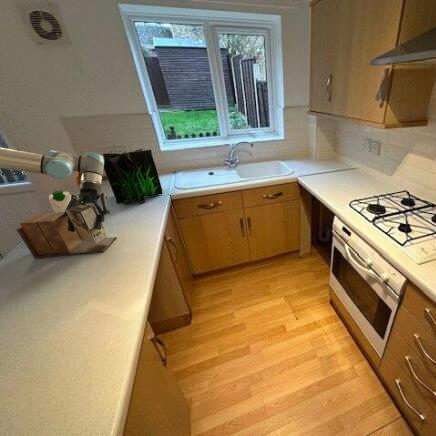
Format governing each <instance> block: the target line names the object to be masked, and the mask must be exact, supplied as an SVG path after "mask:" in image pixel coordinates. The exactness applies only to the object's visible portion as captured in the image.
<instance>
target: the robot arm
mask: <svg viewBox="0 0 436 436" xmlns="http://www.w3.org/2000/svg"><path fill="white" fill-rule="evenodd" d="M103 157H104V156H103V155H101V154H99V153H97V152H86V153H85V154H84V155H78V154H74V153H69V152H63V151H60V150H51V149H50V150H48V151H47V154H46V155H45V154H39V153H34V152H29V151H22V150H16V149H12V148H5V147H0V169H5V170H11V171H12V170H13V171H19V172H28V173H34V174H42V175H48V176H49V177H51V178H54V179H58V180H61V179H67V178H68V177H70V176H71V174H72V173H73V172H77V171H78V172H82V177H81V184H80V190H79V194H78V195H75V194H71V200H70V202H69V204H68V206H67V208H66V209H69V208H71V207H73V206H76V205H78V204H81V205H89V204H93V206H94V207H95V209H96V211H97V218H96V226H95V228H96V229H99V230H101V227H102V225H103V223H104V222H105V217H106V215H109V214H110V213H111V212H110V211H111V210H110V207H109V203H108V200H107V199H108V195H107V194H106V193H104V192H102V184H103V183H102V182H103V175H104V158H103ZM99 199H100V201H99ZM100 202H101V203H100ZM64 215H65V216H68V214H67V212H66V210H65V212H64ZM67 223H68V224H69V226H68V231H72V232H75V228H74V226H73V224H72V222H71V220H70V218H69V216H68V222H67Z"/></svg>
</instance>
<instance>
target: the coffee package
mask: <svg viewBox="0 0 436 436" xmlns="http://www.w3.org/2000/svg"><path fill="white" fill-rule="evenodd" d="M81 177H82V172H78V171H76V172H75V181H76V185H77V187H78V190H79V191H80V184H81Z"/></svg>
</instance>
